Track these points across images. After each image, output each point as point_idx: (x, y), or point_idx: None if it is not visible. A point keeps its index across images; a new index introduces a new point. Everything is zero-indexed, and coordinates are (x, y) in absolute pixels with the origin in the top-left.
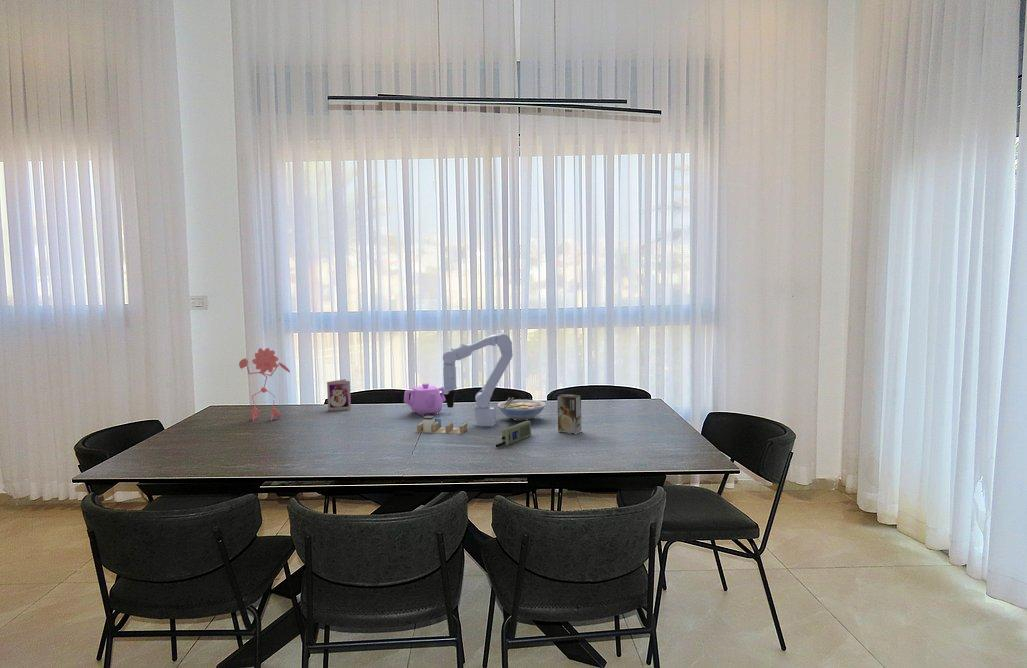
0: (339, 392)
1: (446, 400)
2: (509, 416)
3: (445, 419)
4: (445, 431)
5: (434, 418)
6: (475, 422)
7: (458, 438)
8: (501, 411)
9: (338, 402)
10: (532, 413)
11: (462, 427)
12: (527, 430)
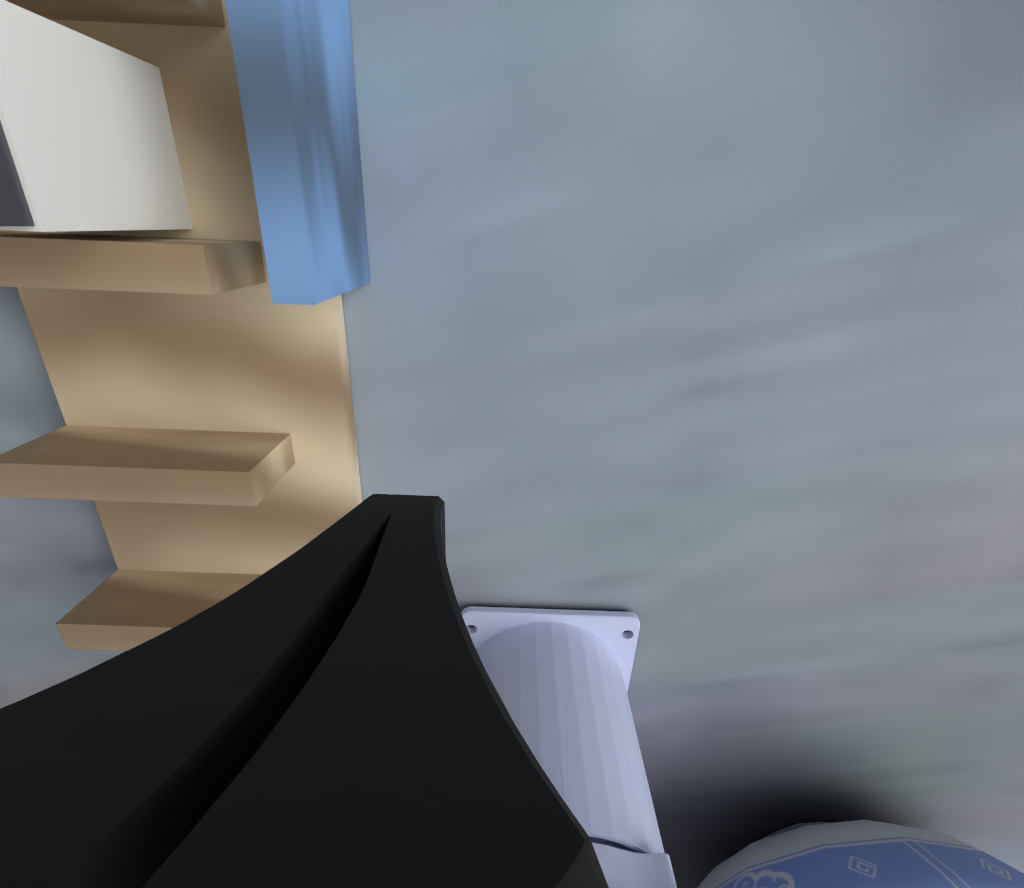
0: None
1: (234, 603)
2: (729, 863)
3: (985, 182)
4: (136, 405)
5: (42, 231)
6: (504, 660)
7: (38, 559)
8: (824, 855)
9: None
10: None
11: (74, 641)
12: None
